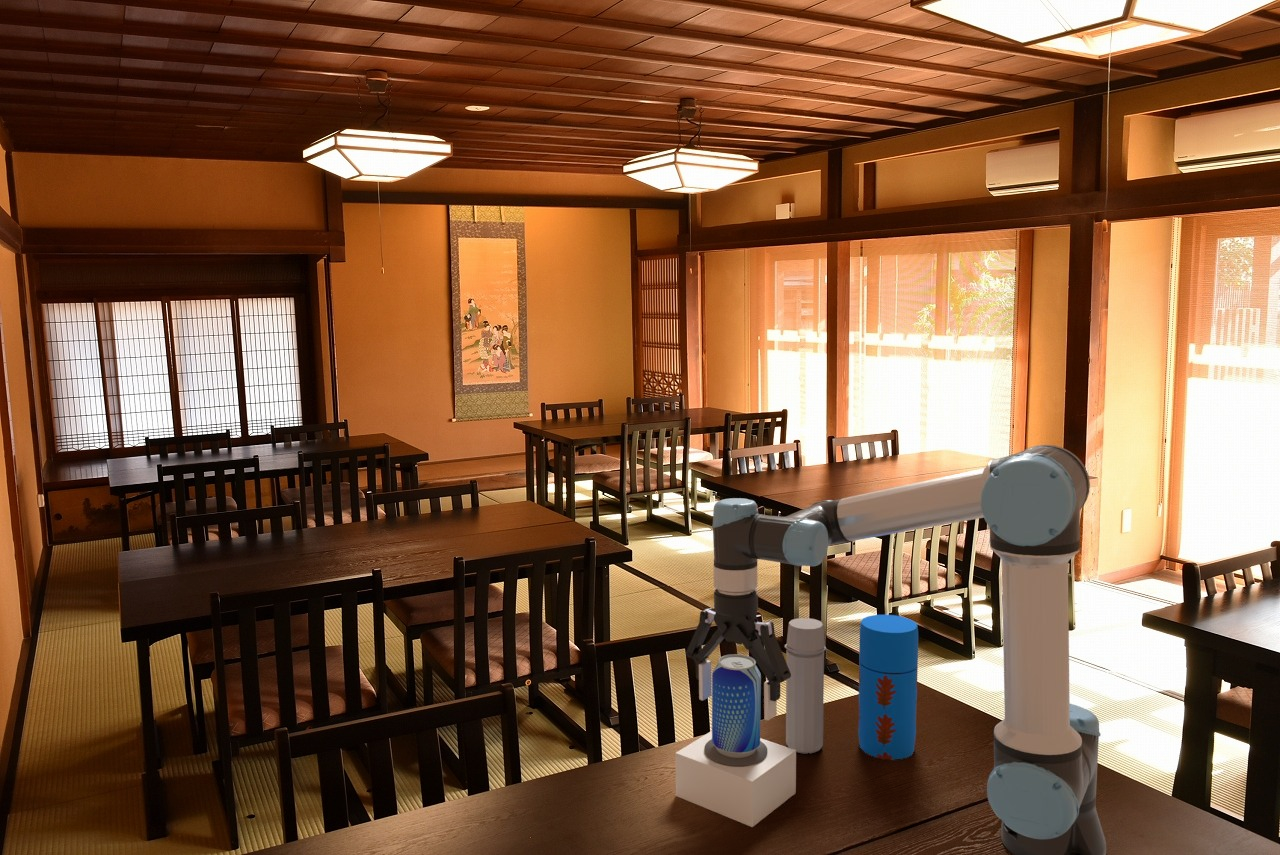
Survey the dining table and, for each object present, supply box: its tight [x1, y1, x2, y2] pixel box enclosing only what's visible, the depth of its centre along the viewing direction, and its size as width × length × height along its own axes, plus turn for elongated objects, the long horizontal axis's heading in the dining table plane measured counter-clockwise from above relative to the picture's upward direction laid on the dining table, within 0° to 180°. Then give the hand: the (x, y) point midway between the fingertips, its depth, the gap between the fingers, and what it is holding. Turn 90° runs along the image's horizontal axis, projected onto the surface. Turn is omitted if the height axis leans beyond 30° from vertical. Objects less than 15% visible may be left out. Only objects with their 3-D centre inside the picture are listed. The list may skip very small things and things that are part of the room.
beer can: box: [711, 653, 762, 758], centre depth 161 cm, size 8×8×16 cm
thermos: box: [857, 614, 919, 761], centre depth 178 cm, size 11×11×25 cm
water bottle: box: [784, 617, 827, 755], centre depth 179 cm, size 9×8×25 cm
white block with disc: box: [675, 730, 797, 828], centre depth 162 cm, size 16×14×8 cm
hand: (737, 707), depth 161 cm, fingers open, 13 cm apart
